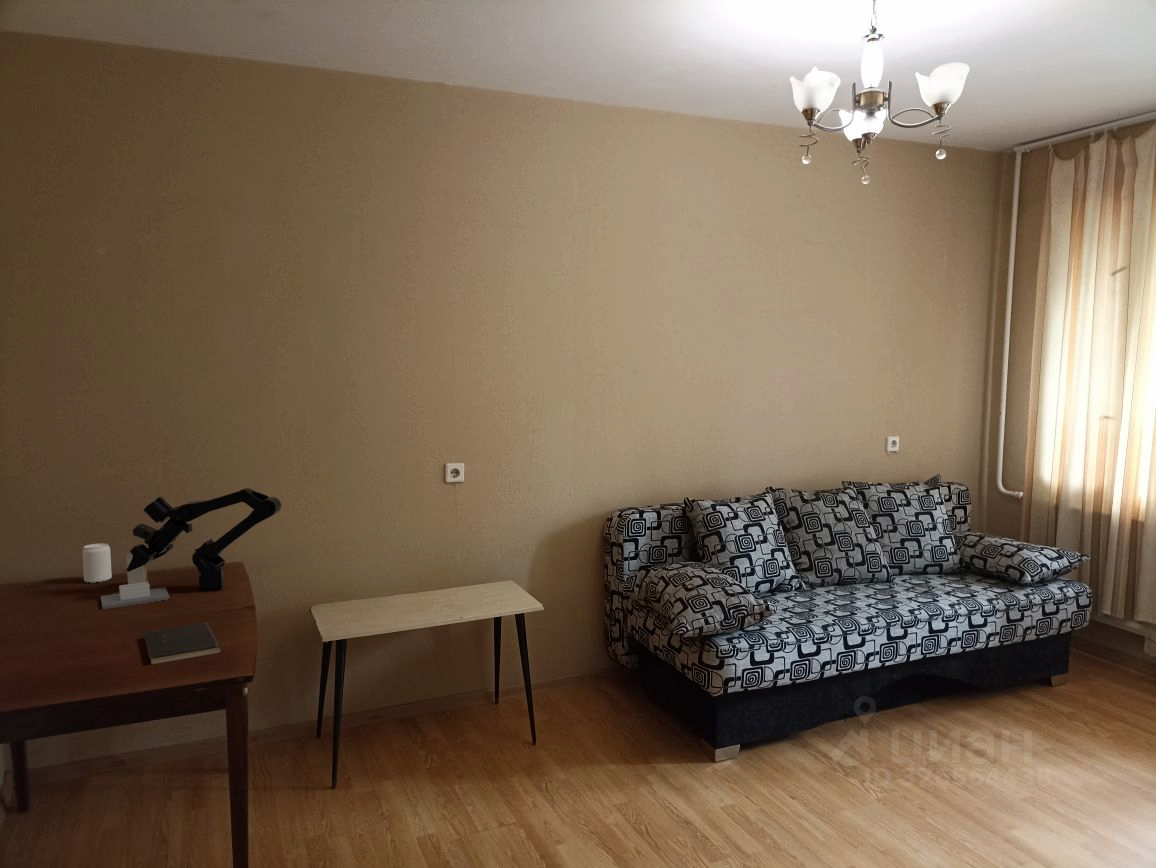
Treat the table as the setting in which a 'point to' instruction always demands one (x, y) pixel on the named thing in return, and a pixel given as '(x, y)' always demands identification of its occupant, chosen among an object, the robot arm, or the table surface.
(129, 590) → the grey base plate
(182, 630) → the hardcover book
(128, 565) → the robot arm
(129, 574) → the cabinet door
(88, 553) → the beverage can
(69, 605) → the table surface
